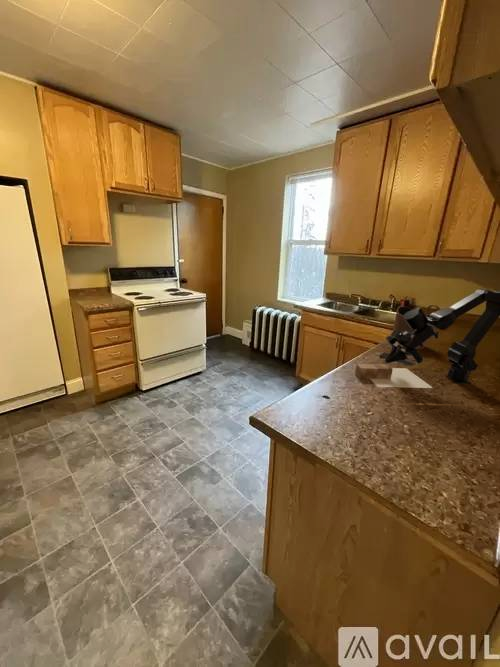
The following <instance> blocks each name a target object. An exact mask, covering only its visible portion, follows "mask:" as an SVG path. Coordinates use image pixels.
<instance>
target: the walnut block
mask: <svg viewBox="0 0 500 667" xmlns="http://www.w3.org/2000/svg"><path fill="white" fill-rule="evenodd" d="M392 368H393V367H391V366H389V365H388V364H387V363H386V364H385V363H384V364H382V363H381V364H376V363H356V366H355V370H354V374H355V375H356V377H357V378H358V379H361V380H362V379H365V380H366V379H367V380H370V379H391V375H392V370H393V369H392Z"/></svg>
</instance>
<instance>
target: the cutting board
mask: <svg viewBox="0 0 500 667" xmlns="http://www.w3.org/2000/svg"><path fill="white" fill-rule="evenodd" d="M391 368H392V369H393V370H392V375H391V379H369V380H370V381H372V383H373V384H374V385H375V386H376V387H377V388H407V389H409V388H411V389H412V388H414V389H415V388H416V389H421V388H422V389H424V388H425V389H434V387H432V386H431V385H430V384H428V382H426V381H424V380H423V379H422V378H420V377H419V376H418V375H416V374H415V373H413V372H412V371H410V370H409V369H408V368H405V367H404V368H401V367H400V368H399V367H398V368H397V367H391Z"/></svg>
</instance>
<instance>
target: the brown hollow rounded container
mask: <svg viewBox="0 0 500 667" xmlns="http://www.w3.org/2000/svg"><path fill="white" fill-rule="evenodd" d="M432 307H433V308H434V307H435V308H436V311H438V310H441V308H440V306H439V305H437V304H432V305H428V306H427V307H426V308H425V309H426V310H425V313H424V314H425V315H429V312H430V310H431V308H432ZM411 310H414V309H413V308H410V307H409V306H406V305H401V306H398V307H397V309H396V314H395V318H394V323H393V327H392V328H393V329H392V331H393V330H394V329H397V330H399V331H401V332H403V333H404V332H405V331H406V332H410V333H412V332H413V331H414V330H416V329H411V327H410V326H409V325H408V323H407V322H406V321H405V319H404V318H403V316H404V314H405V313H406V312H409V311H411ZM431 327H432V326H431ZM432 328H433V329H434V327H432ZM393 337H394V336H393ZM424 348H425V345H424V344H423V347H420V346H419V347H417V348H416V350H421V349H424Z"/></svg>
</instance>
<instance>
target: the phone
mask: <svg viewBox="0 0 500 667" xmlns="http://www.w3.org/2000/svg"><path fill="white" fill-rule="evenodd" d="M389 354H390V353H388V352H384V353H382V354H379V356H378V357H380V358H379V359H382V358H383V360H386V358H387V357H388V355H389ZM395 362H396V363H400V364H402V365H406V366H410V367H411V366H413V365H415V364H416V363H415V362H413V360H411V359H409V358H408V360H407V359H406V360H400V361H395Z"/></svg>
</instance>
